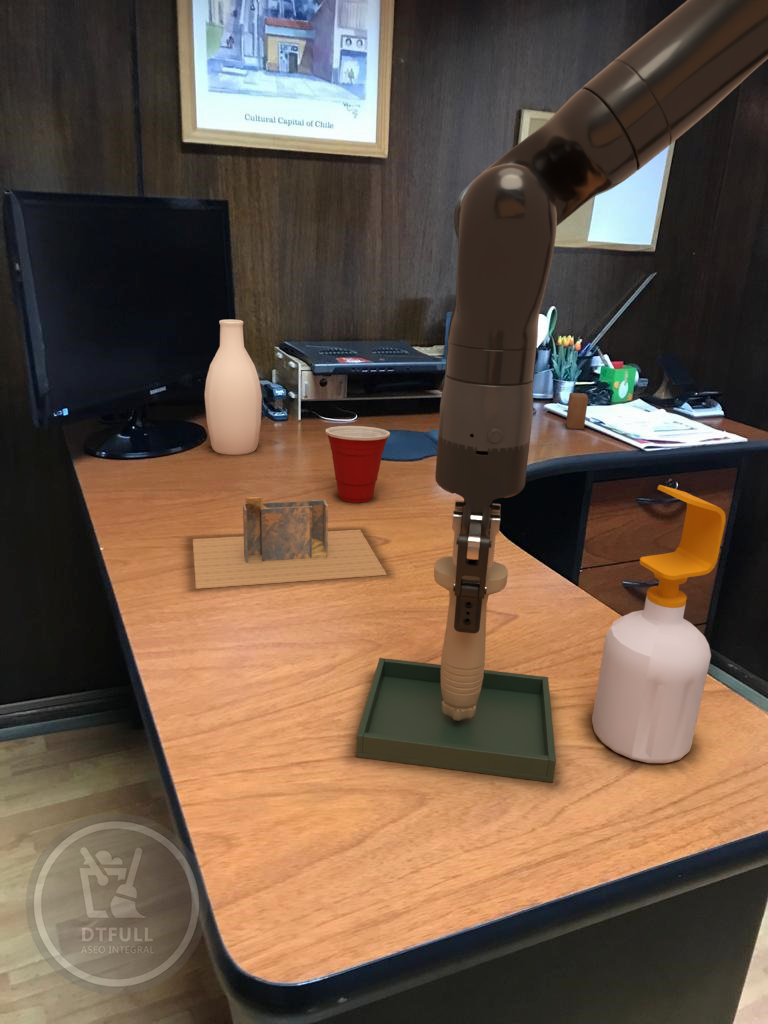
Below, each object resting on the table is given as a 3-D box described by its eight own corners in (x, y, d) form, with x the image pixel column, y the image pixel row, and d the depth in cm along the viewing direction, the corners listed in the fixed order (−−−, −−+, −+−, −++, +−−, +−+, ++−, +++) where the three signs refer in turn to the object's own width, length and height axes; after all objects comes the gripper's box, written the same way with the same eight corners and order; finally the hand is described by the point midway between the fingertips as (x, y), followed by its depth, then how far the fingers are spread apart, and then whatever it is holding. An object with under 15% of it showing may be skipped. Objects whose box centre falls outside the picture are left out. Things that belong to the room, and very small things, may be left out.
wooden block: (566, 428, 184) (571, 395, 182) (565, 424, 188) (569, 392, 185) (583, 430, 184) (588, 396, 181) (582, 426, 188) (586, 393, 185)
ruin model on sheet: (195, 588, 98) (192, 517, 94) (192, 539, 113) (189, 475, 109) (386, 574, 104) (390, 507, 100) (360, 529, 119) (362, 469, 115)
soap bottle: (572, 717, 75) (608, 477, 67) (647, 699, 79) (691, 469, 70) (632, 775, 68) (682, 513, 59) (712, 753, 71) (770, 502, 62)
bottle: (262, 456, 152) (260, 325, 143) (204, 457, 151) (199, 324, 142) (262, 441, 163) (260, 318, 154) (208, 441, 161) (203, 316, 152)
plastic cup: (390, 489, 137) (393, 423, 133) (383, 510, 127) (386, 439, 123) (330, 484, 138) (331, 419, 134) (318, 505, 128) (319, 434, 124)
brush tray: (545, 696, 79) (548, 676, 78) (552, 782, 66) (556, 760, 65) (378, 676, 81) (379, 657, 80) (355, 757, 68) (356, 735, 68)
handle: (490, 733, 70) (505, 584, 65) (420, 721, 71) (430, 574, 66) (494, 703, 75) (509, 561, 69) (429, 693, 76) (438, 553, 71)
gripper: (445, 409, 71) (433, 578, 77) (430, 451, 57) (417, 652, 63) (528, 415, 70) (509, 585, 76) (533, 460, 56) (510, 662, 62)
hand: (468, 614), depth 69 cm, fingers closed on handle, 5 cm apart
